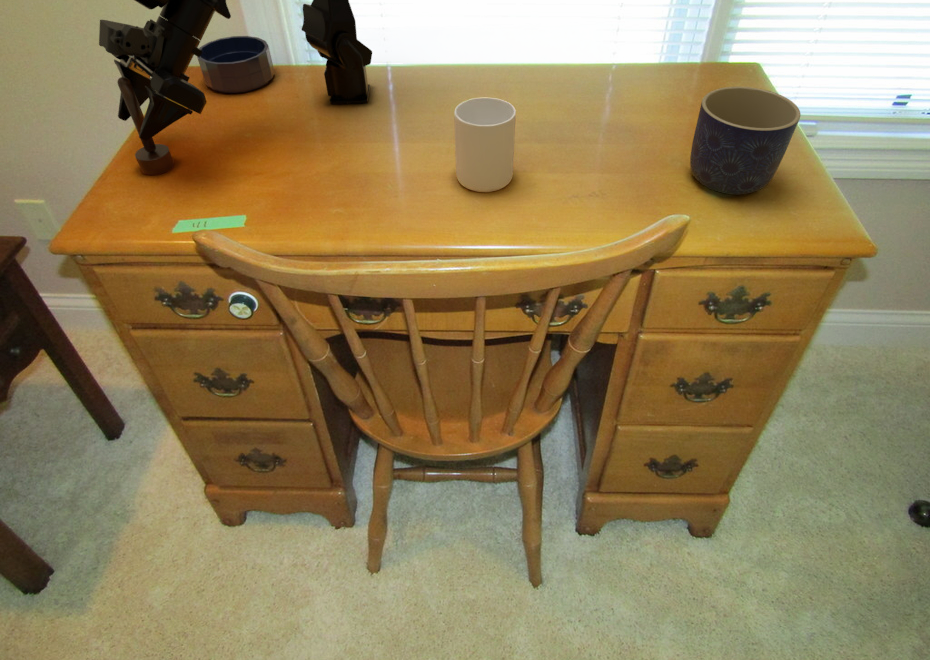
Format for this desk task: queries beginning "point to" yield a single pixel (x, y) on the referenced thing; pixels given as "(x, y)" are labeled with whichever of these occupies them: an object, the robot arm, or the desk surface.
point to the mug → (484, 143)
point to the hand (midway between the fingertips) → (131, 129)
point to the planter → (741, 138)
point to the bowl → (236, 64)
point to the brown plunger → (151, 155)
